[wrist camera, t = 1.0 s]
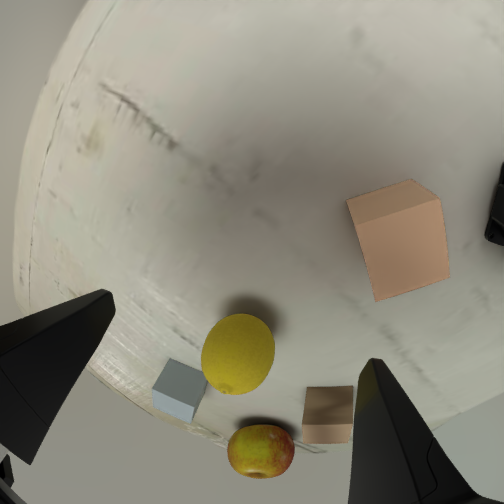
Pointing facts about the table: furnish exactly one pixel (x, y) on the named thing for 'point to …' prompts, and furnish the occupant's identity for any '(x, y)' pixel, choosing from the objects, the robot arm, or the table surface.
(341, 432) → the walnut block
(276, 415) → the table surface
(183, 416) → the slate block
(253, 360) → the lemon
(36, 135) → the table surface
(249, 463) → the fruit
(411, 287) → the terracotta block
